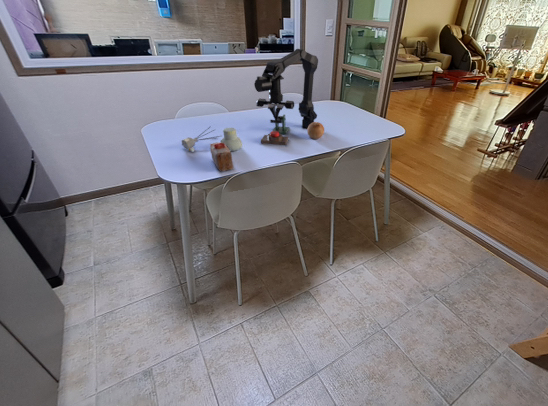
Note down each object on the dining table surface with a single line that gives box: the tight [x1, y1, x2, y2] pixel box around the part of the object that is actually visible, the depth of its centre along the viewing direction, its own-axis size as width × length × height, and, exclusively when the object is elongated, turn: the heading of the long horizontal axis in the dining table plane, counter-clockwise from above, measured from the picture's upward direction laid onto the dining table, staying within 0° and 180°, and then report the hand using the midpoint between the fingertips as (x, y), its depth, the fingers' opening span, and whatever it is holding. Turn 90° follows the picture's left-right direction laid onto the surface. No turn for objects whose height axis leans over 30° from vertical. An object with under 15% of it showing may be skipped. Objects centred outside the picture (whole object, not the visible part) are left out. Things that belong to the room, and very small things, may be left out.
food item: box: [209, 141, 234, 172], centre depth 124 cm, size 14×8×10 cm, turn 31°
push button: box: [269, 130, 279, 137], centre depth 149 cm, size 4×4×2 cm
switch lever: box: [270, 115, 283, 124], centre depth 157 cm, size 12×6×2 cm, turn 176°
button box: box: [260, 133, 290, 146], centre depth 151 cm, size 13×8×4 cm, turn 86°
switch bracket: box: [272, 114, 290, 135], centre depth 163 cm, size 10×8×9 cm
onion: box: [306, 121, 325, 140], centre depth 158 cm, size 10×9×10 cm
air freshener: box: [220, 127, 243, 152], centre depth 138 cm, size 11×8×10 cm
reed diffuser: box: [181, 126, 221, 153], centre depth 143 cm, size 10×7×20 cm
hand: (276, 120), depth 152 cm, fingers closed, pressing on switch lever
